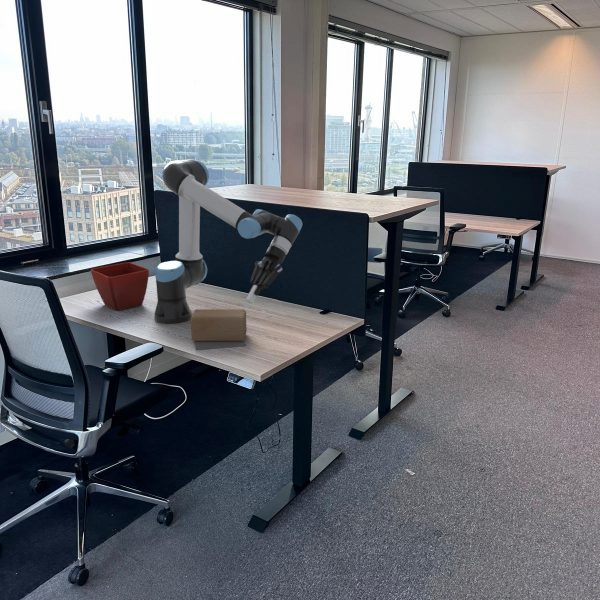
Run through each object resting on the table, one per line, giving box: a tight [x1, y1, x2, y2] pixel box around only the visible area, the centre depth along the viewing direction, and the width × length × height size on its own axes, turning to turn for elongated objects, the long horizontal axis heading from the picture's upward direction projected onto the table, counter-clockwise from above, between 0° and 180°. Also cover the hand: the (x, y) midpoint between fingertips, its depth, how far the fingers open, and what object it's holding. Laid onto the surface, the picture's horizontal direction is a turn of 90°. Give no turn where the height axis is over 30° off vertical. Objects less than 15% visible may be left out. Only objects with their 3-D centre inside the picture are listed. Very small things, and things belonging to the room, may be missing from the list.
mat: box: [194, 340, 246, 351], centre depth 201 cm, size 18×12×1 cm, turn 105°
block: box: [189, 308, 248, 342], centre depth 203 cm, size 10×10×20 cm
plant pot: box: [90, 261, 150, 311], centre depth 240 cm, size 19×19×17 cm
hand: (249, 301), depth 199 cm, fingers closed
